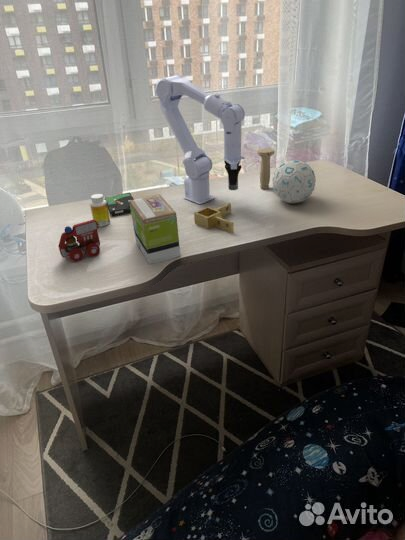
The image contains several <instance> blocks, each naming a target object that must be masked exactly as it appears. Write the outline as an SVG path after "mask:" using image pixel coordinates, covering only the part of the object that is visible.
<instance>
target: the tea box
mask: <svg viewBox="0 0 405 540" xmlns="http://www.w3.org/2000/svg"><path fill="white" fill-rule="evenodd" d="M129 202H130V209H131V213H130V215H131V220H132V225H133V232H134V236H135V237H134V238H135V242H136V244H137V246H138V247H139V250H141V252H142V255H143V256H144V257H145V259H146V261H147V263H148V264H149V265H152V264H155V263H159V262H164V261H167V260H171V258H172V259H175V258H179V257H180V256H181V248H180V239H179V238H180V237H179V228H178V217H177V212H176V210H175V209H174V208H173V207H172V206H171V205H170V204H169V203H168V202H167V201H166V200H165V199H164V197H163V196H162V195H161V194H160V193H159V194H153V195H149V196H144V197H141V198H134V200H129Z"/></svg>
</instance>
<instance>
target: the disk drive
mask: <svg viewBox="0 0 405 540" xmlns="http://www.w3.org/2000/svg"><path fill="white" fill-rule="evenodd" d="M104 200H106V202H107V207H108V213H109V214H110V216H111V217H112V218H113V217H117V216H118V217H119V216H123V215H128V214H131V209H130V202H129V200H135V198H134V197H133V195H132V194H131V192H126V193H119V194H115V195H112V196H105V197H104Z"/></svg>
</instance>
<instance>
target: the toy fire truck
mask: <svg viewBox="0 0 405 540" xmlns="http://www.w3.org/2000/svg"><path fill="white" fill-rule="evenodd" d="M98 228H99V226H98V223H97V221H96V220H93V219H90V220H87V221H83V222H80V223H76V224H73V226H72V227H71V226H67V225H66V226H65V227H64V232H62V233H61V235H60V239H59V241H58V246H57V247H58V250H59V253H60V256H61V257H62V258H68V257H69V259H70V261H72V262H74V263H77V262H80V261H81V260H83V258H84V252H85V254H87V256H88V257H90V258H95V257H97V256H98V255H99V254H100V252H101V247H100V246H101V240H100V236H99V231H98Z"/></svg>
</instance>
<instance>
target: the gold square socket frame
mask: <svg viewBox="0 0 405 540" xmlns="http://www.w3.org/2000/svg"><path fill="white" fill-rule="evenodd" d="M231 213H232V203H231V202H229V203H226V204H224V205H222V206H219V207H217V208H212V207H210V206H206V207H204V208H202V209H200V210H198V211H195V212H194V213H193V216H194V217H193V219H194V224H195V225H197V226H200V227H202V228H204V229H207V230H210V229H211V228H213V227H215V228H218V229H220V230H223V231H225V232H227V233H230V234H234V229H235V228H234V223H235V222H233V221H230V220H228V219H225V218H223V217H226V216H228V215H229V214H231Z"/></svg>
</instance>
